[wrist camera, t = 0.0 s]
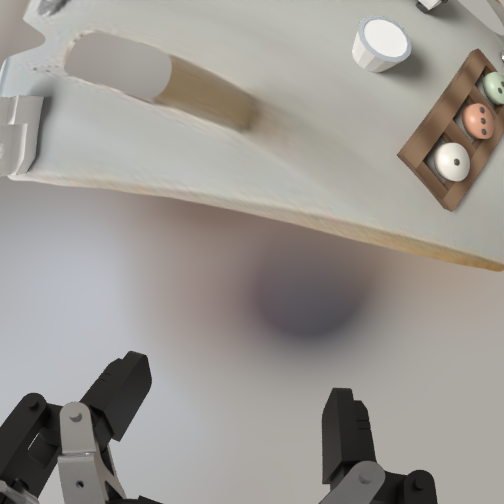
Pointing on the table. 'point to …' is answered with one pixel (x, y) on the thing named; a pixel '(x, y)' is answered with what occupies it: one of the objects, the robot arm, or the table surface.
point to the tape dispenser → (18, 132)
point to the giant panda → (428, 4)
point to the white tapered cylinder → (380, 44)
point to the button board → (454, 132)
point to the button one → (452, 161)
